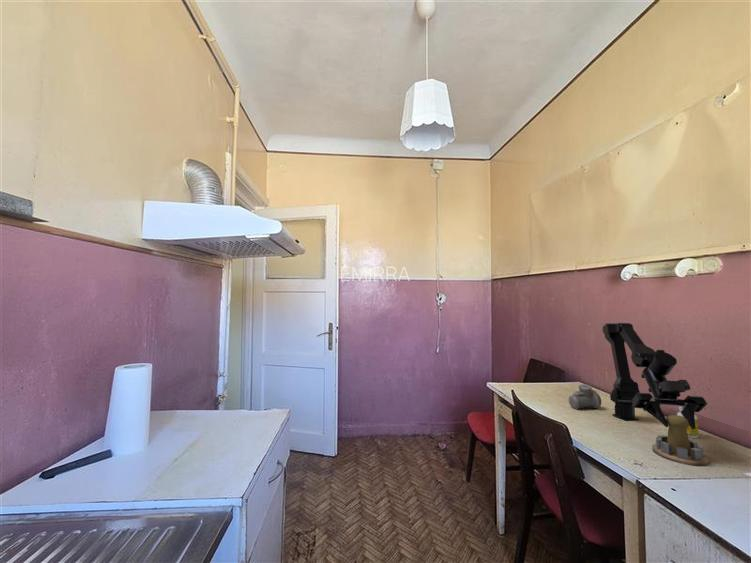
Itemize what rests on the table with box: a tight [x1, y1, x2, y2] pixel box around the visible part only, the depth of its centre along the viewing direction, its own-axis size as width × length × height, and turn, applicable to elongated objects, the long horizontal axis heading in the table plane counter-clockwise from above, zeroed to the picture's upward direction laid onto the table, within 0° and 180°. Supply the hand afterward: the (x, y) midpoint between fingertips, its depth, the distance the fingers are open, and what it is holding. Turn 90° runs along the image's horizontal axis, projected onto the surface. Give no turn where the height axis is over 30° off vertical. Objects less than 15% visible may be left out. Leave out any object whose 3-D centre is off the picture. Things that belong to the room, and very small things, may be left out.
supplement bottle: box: [676, 406, 699, 439], centre depth 119 cm, size 5×5×10 cm
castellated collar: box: [655, 434, 705, 461], centre depth 103 cm, size 11×11×3 cm
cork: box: [665, 414, 691, 456], centre depth 104 cm, size 6×6×11 cm
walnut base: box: [651, 443, 710, 467], centre depth 103 cm, size 13×13×1 cm
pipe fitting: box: [567, 384, 602, 410], centre depth 149 cm, size 12×8×10 cm
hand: (680, 427), depth 102 cm, fingers open, 7 cm apart
